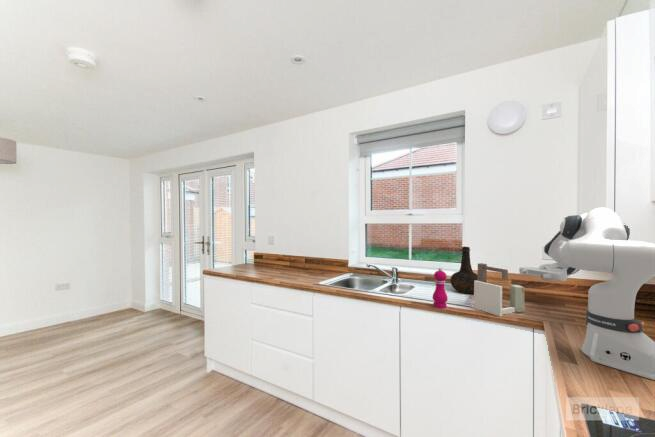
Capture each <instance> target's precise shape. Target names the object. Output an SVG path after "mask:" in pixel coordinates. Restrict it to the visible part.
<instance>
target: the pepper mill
mask: <svg viewBox="0 0 655 437" xmlns="http://www.w3.org/2000/svg"><path fill="white" fill-rule="evenodd" d="M433 274H434V275H433V277H434V283H435V290H434V292H433V294H432V300H433V303H432V304H433V307H435V309H436V308H437V309H447V302H448V294H447V292H446V290H445V289H446V288H445V284H446V279H447V273H446V272H445V271H443V268H442V267H439V268H438V270H436V271H435V272H434V273H433Z"/></svg>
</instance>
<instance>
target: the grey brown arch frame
mask: <svg viewBox="0 0 655 437" xmlns="http://www.w3.org/2000/svg"><path fill="white" fill-rule="evenodd" d="M487 271H491V272H496V273H501V279H502V280H508V278H509V277H508V276H509V275H508V274H509V273H508V272H509V270H508V269H505V268H499V267H494V266H488V264H487V263H482V262H481V263H477V275H478V281H480V282H485V283H488V282H487V277H488V275H487V274H488V272H487Z"/></svg>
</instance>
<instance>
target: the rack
mask: <svg viewBox="0 0 655 437" xmlns="http://www.w3.org/2000/svg"><path fill="white" fill-rule="evenodd" d="M475 308H476V309H475ZM473 309H475V310H478V309H479V311H481V310H482V311H481V312H484V311H485V312H484V313H487V312H488V314H491V315H494V316H496V317H500V318H502V316H504V315H503V314H506V313H511V314H513V313H512V312H515V308H514V307H510V306H509V307H503V286H502V285H497V284H493V283H488V282H487V283H485V282H480V281H474V293H473ZM515 313H516V312H515ZM506 315H507V314H506Z"/></svg>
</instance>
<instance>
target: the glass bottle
mask: <svg viewBox="0 0 655 437" xmlns="http://www.w3.org/2000/svg"><path fill="white" fill-rule="evenodd" d="M460 251H461V262H460V268H459V270H458V271H457V272H454V273H453V274H451V276H450V284H451V286H452V288H453V289H454V290H455V291H456V292H459V293H460V294H461V293H462V294H468V295H469V294H470V295H471V294H474V281H478V273H475V271H474V270H473V269H472V268H473V267H472V264H471V254H470V253H471V252H470V251H471V248H470V247H469V246H462V247H461V249H460Z"/></svg>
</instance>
